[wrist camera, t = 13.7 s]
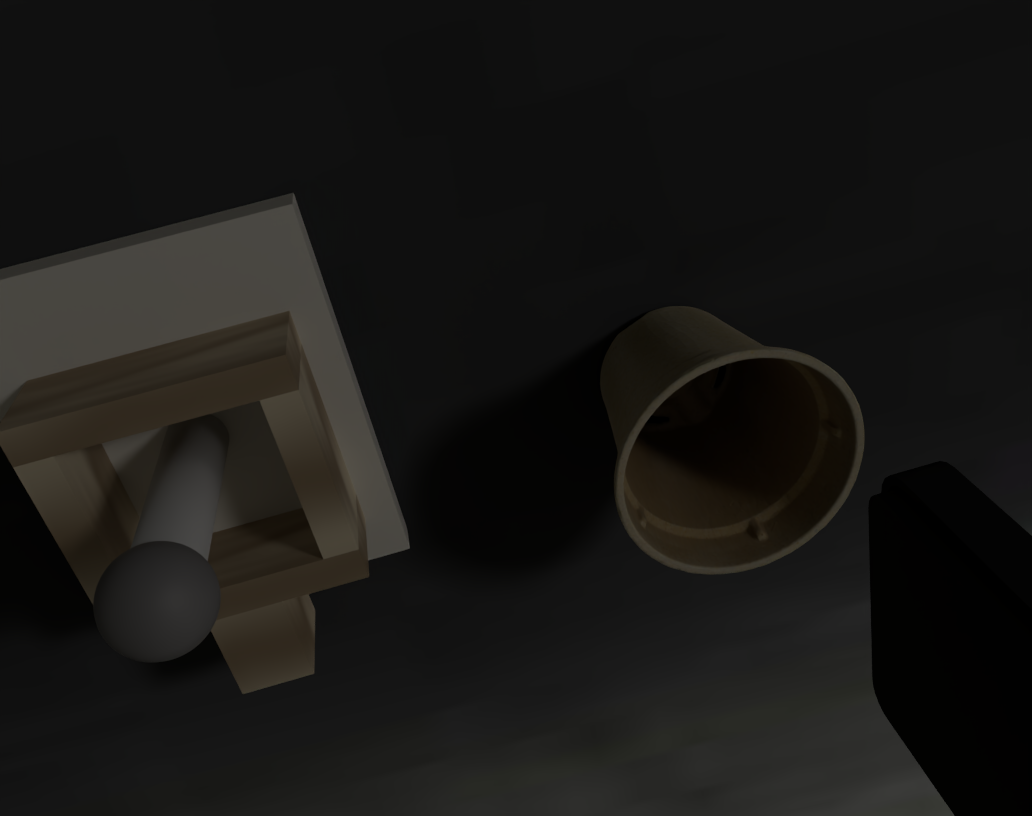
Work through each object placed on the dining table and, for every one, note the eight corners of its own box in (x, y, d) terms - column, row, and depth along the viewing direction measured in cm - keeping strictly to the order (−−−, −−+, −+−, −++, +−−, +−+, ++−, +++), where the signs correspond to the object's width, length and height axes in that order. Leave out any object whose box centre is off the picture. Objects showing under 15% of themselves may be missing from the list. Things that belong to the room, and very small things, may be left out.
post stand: (-55, 283, 34) (-253, 477, 22) (293, 192, 35) (277, 334, 23) (126, 608, 42) (50, 875, 30) (407, 528, 42) (437, 760, 31)
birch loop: (26, 380, 35) (-7, 433, 31) (289, 310, 35) (285, 354, 32) (173, 650, 41) (159, 718, 38) (390, 588, 42) (396, 649, 39)
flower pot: (539, 305, 38) (591, 400, 31) (754, 237, 39) (857, 315, 31) (586, 485, 43) (642, 606, 36) (778, 423, 43) (872, 530, 36)
